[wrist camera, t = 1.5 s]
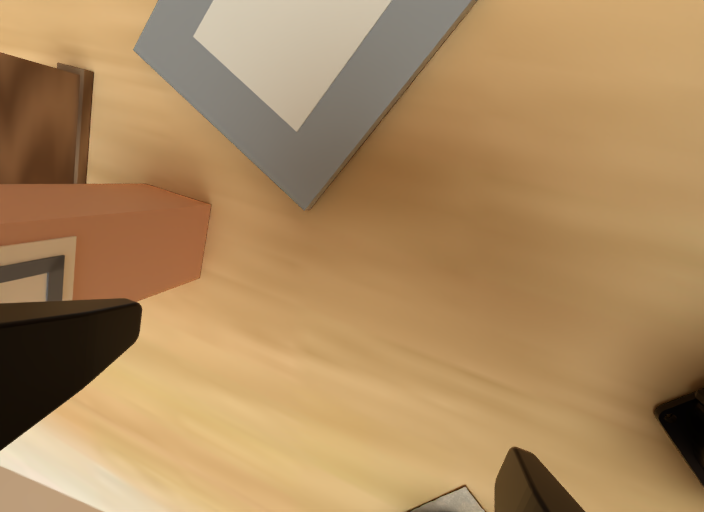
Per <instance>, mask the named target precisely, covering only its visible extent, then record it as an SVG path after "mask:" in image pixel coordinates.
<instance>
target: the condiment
mask: <svg viewBox="0 0 704 512" xmlns="http://www.w3.org/2000/svg"><path fill="white" fill-rule="evenodd" d="M411 512H485V511H484V510H483V509H482V508H481V507H480V505H479V504H478V503H477V502H476V500H475V499H474V498H473V496H472V495H471V494H470V493H469V491H468V490H467V488H466V487H464V488H461V489H459V490H457V491H454V492H452V493H450V494H447V495H445V496H442V497H440V498H438V499H436V500H435V501H431V502H429V503H426V504H424V505H422V506H421V507H420V508H416V509H414V510H412V511H411Z"/></svg>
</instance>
